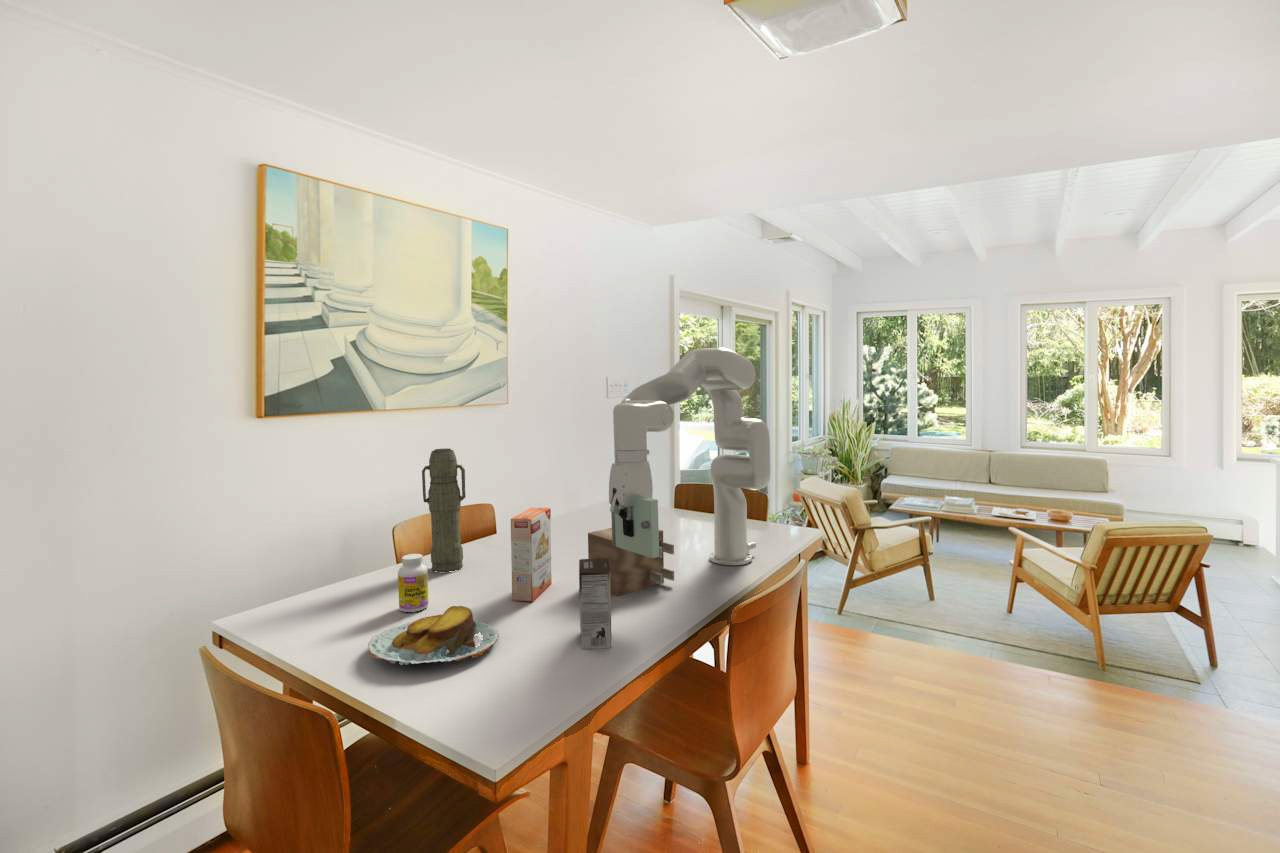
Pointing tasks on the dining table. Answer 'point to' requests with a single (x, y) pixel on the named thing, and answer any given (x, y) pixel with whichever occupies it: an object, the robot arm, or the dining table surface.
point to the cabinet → (629, 563)
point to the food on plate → (434, 638)
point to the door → (639, 528)
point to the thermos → (444, 509)
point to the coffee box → (595, 603)
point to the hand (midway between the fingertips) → (633, 534)
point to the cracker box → (531, 553)
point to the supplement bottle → (413, 584)
